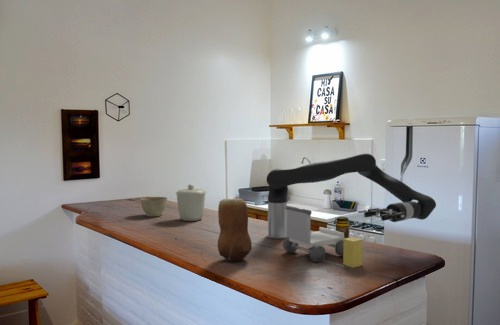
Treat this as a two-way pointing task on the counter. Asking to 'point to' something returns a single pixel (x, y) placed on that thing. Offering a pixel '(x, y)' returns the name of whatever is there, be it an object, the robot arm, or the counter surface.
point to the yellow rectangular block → (352, 252)
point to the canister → (191, 203)
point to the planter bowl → (154, 205)
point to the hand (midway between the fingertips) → (373, 216)
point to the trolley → (309, 235)
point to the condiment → (342, 226)
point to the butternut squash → (233, 229)
